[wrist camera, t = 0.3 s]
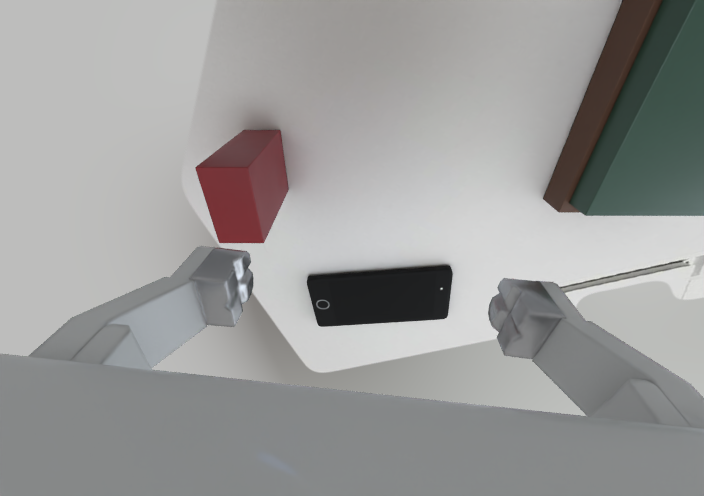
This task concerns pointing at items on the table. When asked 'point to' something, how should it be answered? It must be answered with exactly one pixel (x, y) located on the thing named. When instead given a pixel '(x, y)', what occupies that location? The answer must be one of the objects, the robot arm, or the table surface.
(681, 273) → the table surface
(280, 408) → the robot arm
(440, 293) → the cell phone
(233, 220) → the upright red rectangular block
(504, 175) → the table surface
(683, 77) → the book pile
